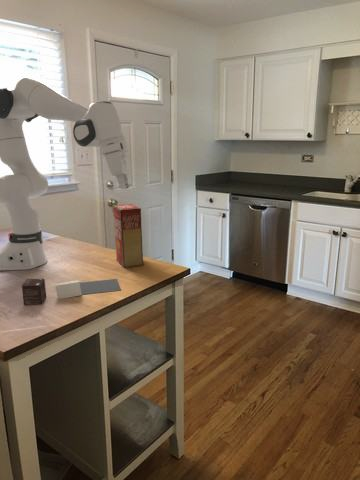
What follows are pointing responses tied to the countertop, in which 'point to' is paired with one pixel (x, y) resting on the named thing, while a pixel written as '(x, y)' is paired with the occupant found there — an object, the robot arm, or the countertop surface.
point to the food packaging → (128, 235)
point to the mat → (99, 286)
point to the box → (34, 291)
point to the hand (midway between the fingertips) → (125, 188)
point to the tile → (68, 289)
